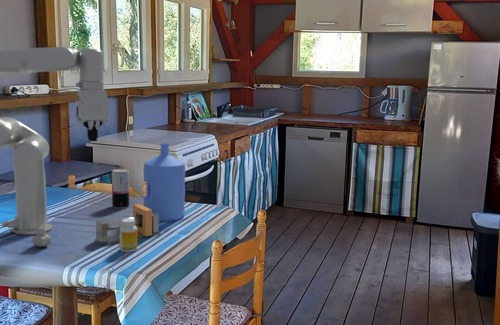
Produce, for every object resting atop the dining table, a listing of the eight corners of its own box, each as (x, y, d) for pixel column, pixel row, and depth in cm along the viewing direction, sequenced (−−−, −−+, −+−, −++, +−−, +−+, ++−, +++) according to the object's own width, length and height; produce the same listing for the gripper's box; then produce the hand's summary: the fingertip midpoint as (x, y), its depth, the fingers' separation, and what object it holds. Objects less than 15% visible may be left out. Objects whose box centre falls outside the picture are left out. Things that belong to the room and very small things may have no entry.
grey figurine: (49, 242, 169) (48, 218, 167) (52, 249, 163) (51, 224, 162) (31, 244, 166) (30, 220, 165) (33, 251, 160) (32, 226, 159)
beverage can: (109, 207, 211) (108, 171, 208) (117, 203, 217) (116, 168, 214) (124, 209, 209) (124, 172, 206) (131, 205, 215) (131, 169, 213)
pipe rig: (102, 245, 168) (101, 224, 166) (94, 240, 172) (94, 219, 171) (160, 234, 181) (160, 214, 180) (151, 229, 185) (151, 210, 184)
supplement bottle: (116, 249, 165) (116, 219, 163) (130, 245, 169) (130, 216, 167) (126, 253, 161) (125, 223, 160) (140, 249, 165) (140, 220, 164)
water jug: (190, 213, 207) (191, 143, 202) (174, 224, 193) (175, 148, 187) (154, 208, 211) (154, 140, 206) (136, 219, 197) (135, 145, 192)
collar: (145, 236, 176) (145, 210, 174) (133, 229, 182) (133, 204, 181) (151, 235, 177) (152, 209, 175) (139, 228, 184) (139, 203, 182)
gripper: (73, 87, 168) (75, 143, 171) (117, 87, 177) (118, 140, 181) (65, 85, 174) (66, 140, 177) (108, 85, 183) (108, 138, 186)
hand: (92, 140), depth 179 cm, fingers closed
